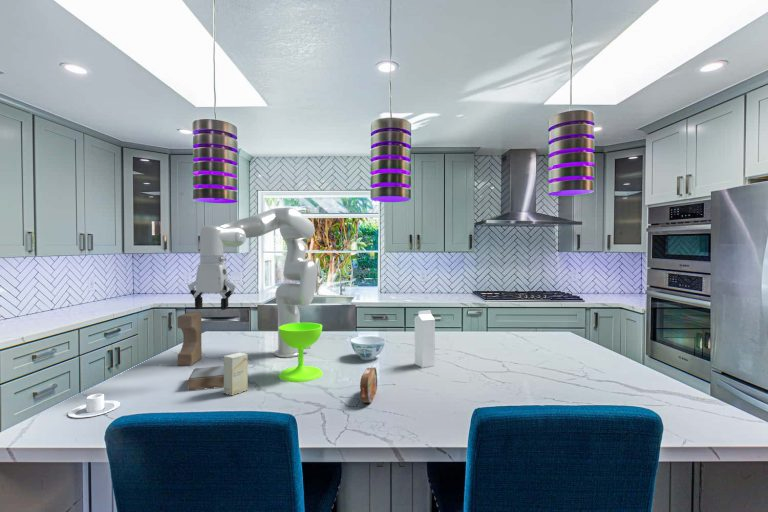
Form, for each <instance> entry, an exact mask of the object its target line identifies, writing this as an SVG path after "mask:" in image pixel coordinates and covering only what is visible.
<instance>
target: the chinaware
mask: <svg viewBox="0 0 768 512" xmlns="http://www.w3.org/2000/svg"><path fill="white" fill-rule="evenodd" d="M350 344H351V347H352V350H353V351H354V352H355V354H357V355H358V356H359V357H360V358H359V359H361V360H365V361H371V360H375V359H376V357H377V356H378V355H379V354H380V353H381V352H382V351H383V350H384V347H385V345H386V339H385V338H384V337H380V336H373V335H369V336H367V335H365V336H363V335H362V336H357V337H354V338H351V340H350Z"/></svg>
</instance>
